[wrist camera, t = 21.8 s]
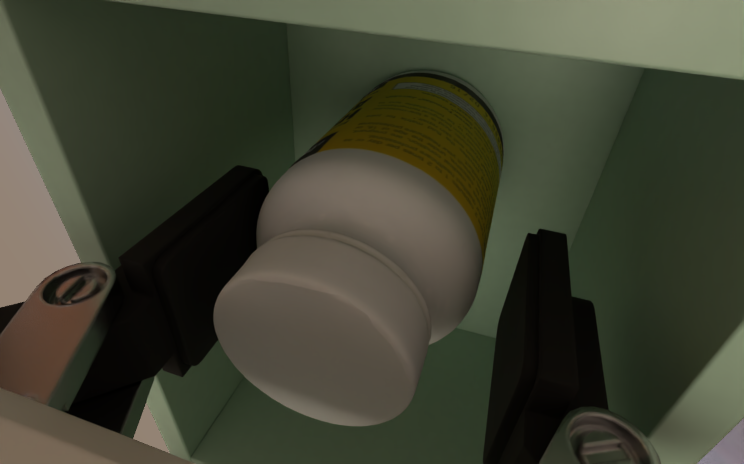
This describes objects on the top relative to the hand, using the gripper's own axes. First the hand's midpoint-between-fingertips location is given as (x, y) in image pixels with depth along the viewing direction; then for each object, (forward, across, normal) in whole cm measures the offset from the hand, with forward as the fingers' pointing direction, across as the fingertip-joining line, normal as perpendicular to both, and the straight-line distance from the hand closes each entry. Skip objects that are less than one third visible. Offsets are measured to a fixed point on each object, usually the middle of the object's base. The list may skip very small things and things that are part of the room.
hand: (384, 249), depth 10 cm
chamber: (+7, 0, +2) cm, 7 cm away
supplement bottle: (+6, 0, 0) cm, 6 cm away
